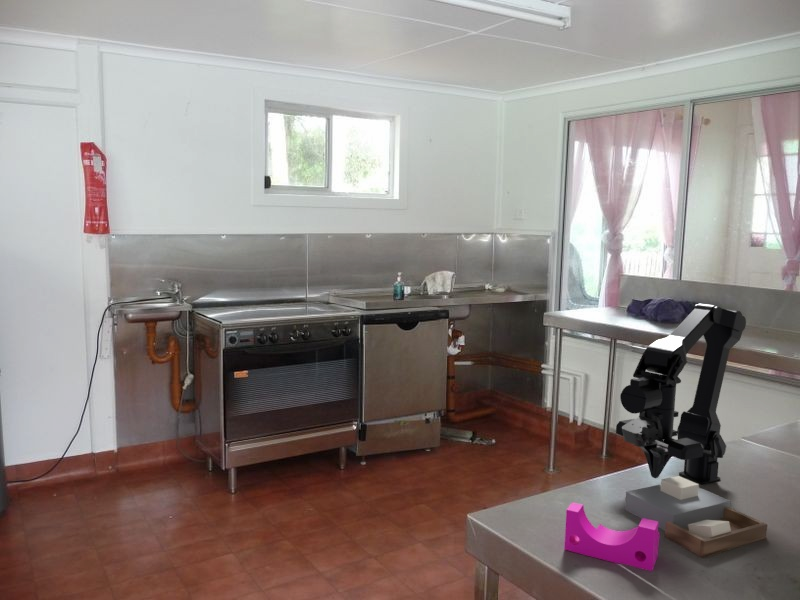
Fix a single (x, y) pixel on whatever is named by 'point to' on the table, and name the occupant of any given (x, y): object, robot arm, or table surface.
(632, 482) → the table surface
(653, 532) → the toy block
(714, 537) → the box
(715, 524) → the tile
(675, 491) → the tile
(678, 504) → the board
